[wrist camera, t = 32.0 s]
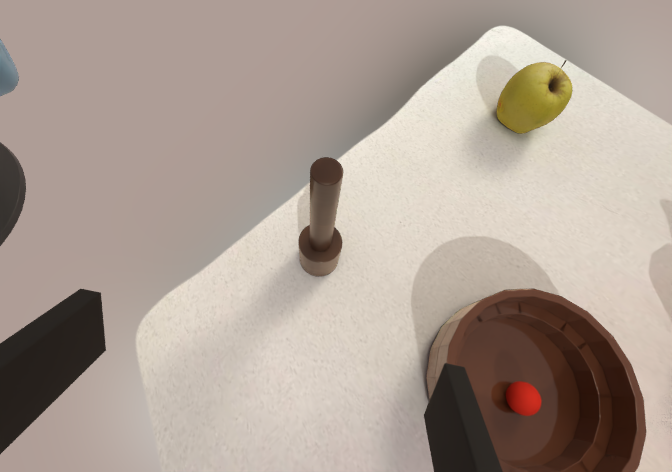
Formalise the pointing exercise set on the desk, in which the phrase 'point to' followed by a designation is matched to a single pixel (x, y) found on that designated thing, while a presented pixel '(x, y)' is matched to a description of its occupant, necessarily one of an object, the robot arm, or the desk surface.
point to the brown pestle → (322, 219)
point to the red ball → (523, 398)
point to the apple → (534, 97)
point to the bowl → (546, 382)
